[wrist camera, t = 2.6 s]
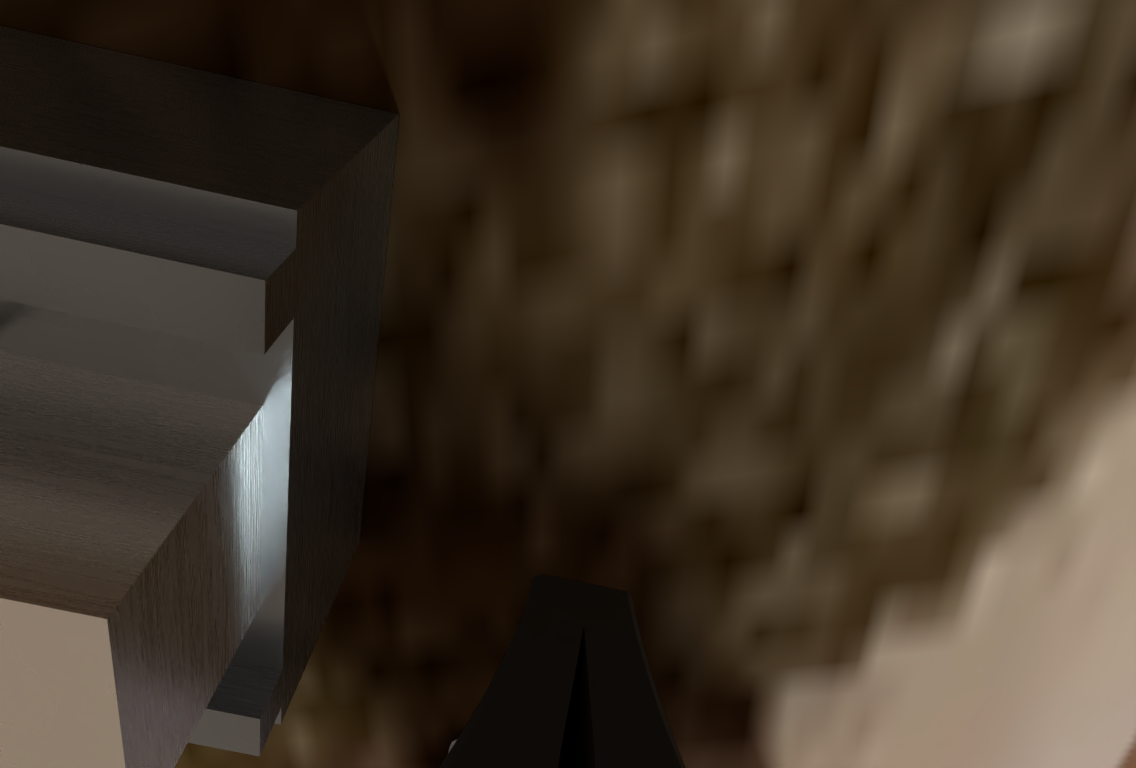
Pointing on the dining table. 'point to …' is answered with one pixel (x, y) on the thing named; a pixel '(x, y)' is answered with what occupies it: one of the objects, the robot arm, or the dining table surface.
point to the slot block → (211, 293)
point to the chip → (119, 562)
